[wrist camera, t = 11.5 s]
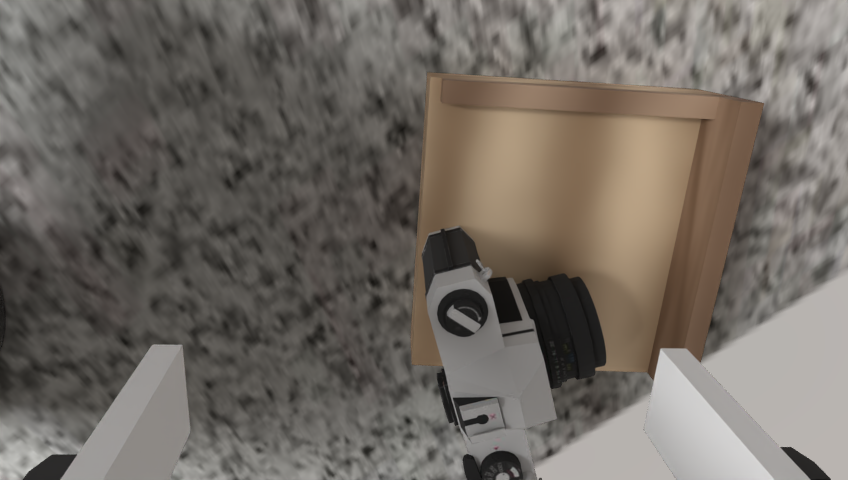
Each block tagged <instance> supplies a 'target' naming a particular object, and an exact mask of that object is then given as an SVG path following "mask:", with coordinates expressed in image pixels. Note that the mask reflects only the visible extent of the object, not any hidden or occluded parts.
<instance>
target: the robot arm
mask: <svg viewBox="0 0 848 480" xmlns="http://www.w3.org/2000/svg"><path fill="white" fill-rule="evenodd" d="M4 330H5V311H4V303H3V298H2V294H1V290H0V349H1V346H2V342H3V338H4ZM644 431H645V432H646V434H647V435H648V437H649V439H650V440H651V442H652V443H653V445H654V446H655V448H656V449H657V451H658V452H659V454H660V455H661V457H662V458H663V460H664V461H665V463H666V465H667V466H668V467H669V469H670V470H671V472H672V474H673V475H674V477H675V478H676V480H831V479H830V478H829V477H828V476H827V475H826V474H825V473H824V472H823V471H822V470H821V469H820V468H819V467H818V466H817V465H816V464H815V463H814V462H813V461H812V460H810V459H809V458H807V457H805V456H804V455H802V454H801V453H799V452H798V451H796V450H795V449H793V448H791V447H779V446H778V445H777V444H776V443H775V442H774V441H773V440H772V438H771V437H770V436H769V435H768V434H767V433H766V432H765V431H764V430H763V429H762V428H761V427H760V426H759V425H758V424H757V423H756V421H754V420H753V418H752V417H751V416H750V415H749V414H748V413H747V412H746V411H745V410H744V409H743V408H742V407H741V406H740V405H739V404H738V403H737V401H736V400H735V399H734V398H733V397H732V396H731V395H730V394H729V393H728V392H727V391H726V390H725V389H724V388H723V387H722V386H721V384H720V383H719V382H718V381H717V380H716V379H715V378H714V377H713V376H712V375H711V374H710V373H709V372H708V371H707V370H706V369H705V368H704V367H703V366H702V364H701V363H700V362H699V361H698V360H697V359H696V358H695V357H694V356H693V355H692V354H691V353H690V352H689V351H688V350H687V349H680V348H661V349H660V354H659V358H658V363H657V368H656V373H655V377H654V382H653V387H652V392H651V396H650V401H649V406H648V411H647V416H646V420H645V425H644ZM190 432H191V430H190V420H189V409H188V398H187V388H186V377H185V366H184V356H183V345H152V346H151V347H150V349H149V350H148V352H147V353H146V355H145V356H144V358H143V359H142V361H141V362H140V363H139V365H138V366H137V368H136V369H135V371H134V372H133V374H132V375H131V377H130V378H129V380H128V381H127V383H126V384H125V385H124V387H123V388H122V390H121V391H120V393H119V394H118V396H117V397H116V399H115V400H114V402H113V403H112V405H111V406H110V408H109V409H108V410H107V412H106V413H105V415H104V416H103V418H102V419H101V421H100V422H99V424H98V425H97V427H96V428H95V430H94V431H93V432H92V434H91V435H90V437H89V438H88V440H87V441H86V443H85V444H84V446H83V447H82V449H81V450H80V452H79V453H78V454H76V455H51V456H49V457H48V458H47V459H45V460H44V461H43V462H41V463H40V464H39V465H37V466H36V467H35V468H33V469H32V470H30V471H29V472H28V473H27V475H26V476H25V477H24V479H23V480H169V479H170V477H171V475H172V473H173V470H174V468H175V466H176V464H177V461H178V459H179V457H180V455H181V452H182V450H183V448H184V446H185V443H186V441H187V439H188V437H189V434H190Z"/></svg>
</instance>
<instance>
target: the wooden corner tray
mask: <svg viewBox="0 0 848 480" xmlns="http://www.w3.org/2000/svg"><path fill="white" fill-rule="evenodd" d="M763 106H764V103H760V102H755V101H751V100H746V99H741V98H737V97H732V96H727V95H722V94H718V93H713V92H708V91H703V90H699V89H686V88H670V87H654V86H638V85H622V84H606V83H590V82H574V81H558V80H542V79H526V78H510V77H494V76H478V75H463V74H447V73H431V72H427V85H426V101H425V116H424V132H423V148H422V164H421V179H420V195H419V211H418V227H417V243H416V258H415V274H414V290H413V306H412V322H411V337H410V338H411V357H412V365H428V366H443V363H442V360H441V357H440V353H439V350H438V346H437V343H436V339H435V336H434V332H433V329H432V325H431V322H430V318H429V315H428V310H427V301H426V298H425V292H426V290H425V279H424V269H423V261H422V256H421V255H422V251H423V248H424V245H425V243H426V240H427V237H428V234H429V233H432V232H435V231H439V230H440V229H443V228H444V229H447V228H451V227H455V226H460V227H461V228H462V229H463V230H464V231H465V232H466V233H467V234H468V235H469V236H470V237H471V238H472V239H473V241H474V242H475V244H476V249H477V252H478V255H479V258H480V261H481V263H482V264H483V266H484V267H485V268H486V267H489V268H490V269H491V270H492V275H491V277H490V278H498V277H506V278H513V279H514V281H515V283H516V284H518V283H522V280H526V279H532V280H533V282H534V281H539V282H541V281H545V280H547V279H548V277H550V276H554V275H558V274H562V273H565V274H566V275H567V276H568V278H573V277H577V276H578V277H580V278H581V279H582V280H583V281H584V283H585V285H586V287H587V289H588V291H589V293H590V295H591V298H592V300H593V303H594V305H595V308H596V311H597V314H598V318H599V321H600V325H601V328H602V332H603V337H604V342H605V348H606V364H605V366H601V367H597V368H595V371H621V372H648V374H649V375H650V377H651V378H652V379H653V381H654V377H655V373H656V368H657V363H658V358H659V354H660V349H661V348H680V349H687V350H688V351H689V352H690V353H691V354H692V355H693V356H694V357H695V358H696V359H697V360H698V361H699V362H701V358H702V354H703V350H704V346H705V342H706V338H707V334H708V330H709V326H710V322H711V318H712V313H713V309H714V305H715V301H716V297H717V293H718V289H719V285H720V281H721V277H722V273H723V269H724V265H725V260H726V256H727V252H728V248H729V244H730V240H731V236H732V232H733V228H734V224H735V220H736V216H737V212H738V207H739V203H740V199H741V195H742V191H743V187H744V183H745V179H746V175H747V171H748V167H749V163H750V159H751V154H752V150H753V146H754V142H755V138H756V134H757V130H758V126H759V122H760V118H761V114H762V110H763ZM484 267H483V268H484ZM490 278H489V279H490Z"/></svg>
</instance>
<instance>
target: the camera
mask: <svg viewBox="0 0 848 480" xmlns="http://www.w3.org/2000/svg"><path fill="white" fill-rule="evenodd" d="M421 256H422V261H423V269H424V279H425V290H426V292H425V298H426V301H427V310H428V315H429V318H430V322H431V325H432V329H433V332H434V336H435V339H436V343H437V346H438V350H439V353H440V357H441V360H442V363H443V367H444V368H443V369H442V372H441V373H437V380H438V387H439V391H440V395H441V398H442V402H443V405H444V408H445V412H446V415H447V418H448V422H449V423H453V422H454V424H455V426H456V425H459V427H460V430H461V434H462V433H463V437H464V440H465V444H466V447H467V451H468V454H466V455H464V457H463V465H464V471H465V475H466V478H467V480H537V477H536V473H535V469H534V465H533V461H532V456H531V452H530V448H529V444H528V440H527V436H526V432H525V429H527V428H530V427H533V426H537V425H540V424H543V423H546V422H549V421H552V420H556V419H557V416H556V412H555V407H554V403H553V398H552V394H551V389H554V388H558V387H561V385H562V382H566V381H567V379H570V378H574V377H575V378H576V379H577V380H578V379H582V378H587V377H591V376H594V374H595V368H597V367H601V366H605V364H606V348H605V342H604V337H603V332H602V328H601V325H600V321H599V318H598V314H597V311H596V308H595V305H594V303H593V300H592V298H591V295H590V293H589V291H588V289H587V287H586V285H585V283H584V281H583V280H582V279H581V278H580V277H578V276H577V277H573V278H568V276H567V275H566V274H565V273H562V274H558V275H554V276H550V277H548V279H547V280H545V281H541V282H539V281H534V282H533V280H532V279H526V280H522V283H518V284H516V283H515V281H514V279H513V278H506V277H498V278H490V277H491V275H492V270H491V269H490V268H489V267H486V268H485V267H484V266H483V264H482V263H481V261H480V258H479V255H478V252H477V249H476V244H475V242H474V241H473V239H472V238H471V237H470V236H469V235H468V234H467V233H466V232H465V231H464V230H463V229H462V228H461V227H460V226H455V227H451V228H447V229H444V228H443V229H440V230H439V231H435V232H432V233H429V234H428V237H427V240H426V243H425V245H424V248H423V251H422V255H421ZM483 267H484V268H483ZM489 278H490V279H489ZM550 387H551V389H550ZM539 480H542V478H539Z"/></svg>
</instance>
